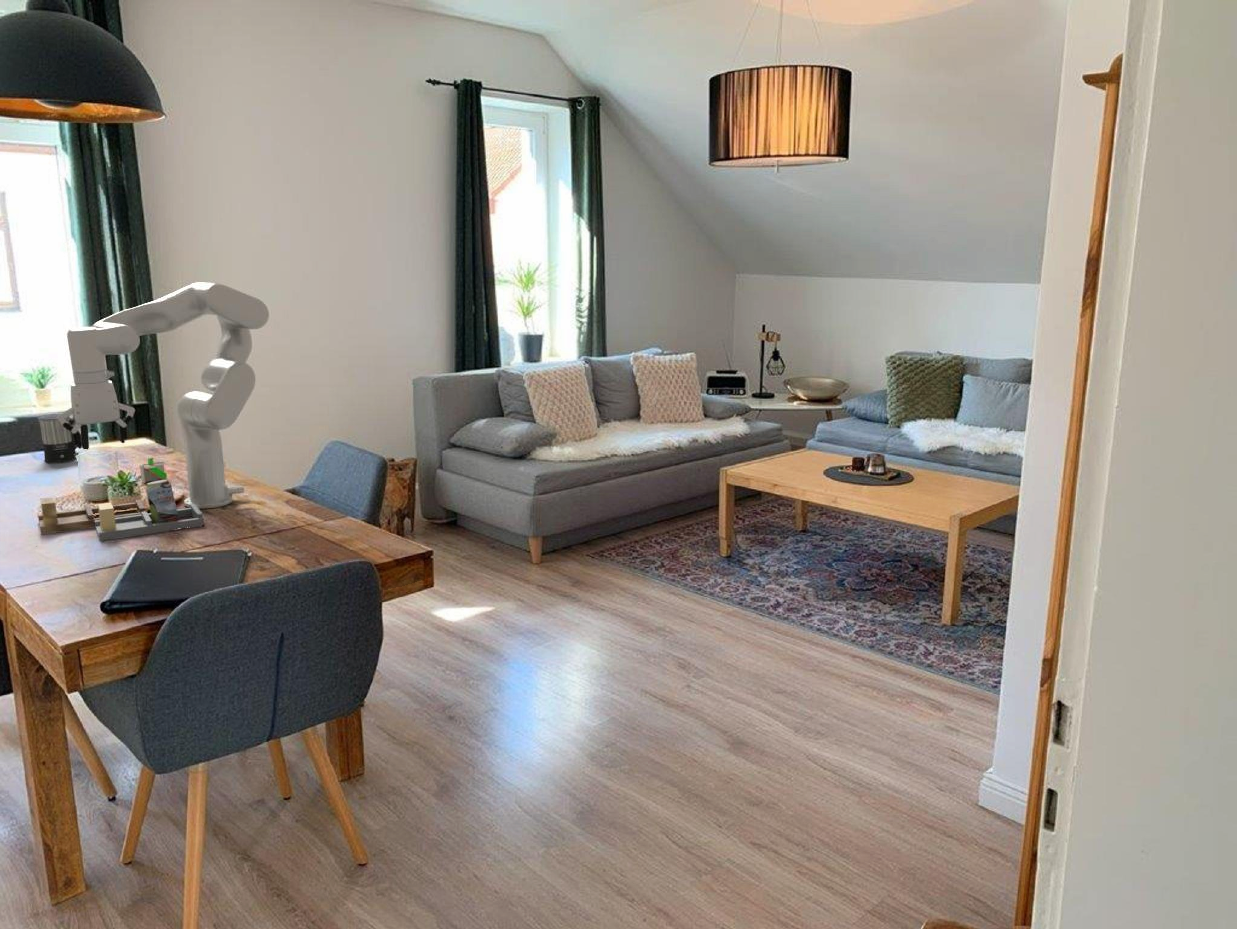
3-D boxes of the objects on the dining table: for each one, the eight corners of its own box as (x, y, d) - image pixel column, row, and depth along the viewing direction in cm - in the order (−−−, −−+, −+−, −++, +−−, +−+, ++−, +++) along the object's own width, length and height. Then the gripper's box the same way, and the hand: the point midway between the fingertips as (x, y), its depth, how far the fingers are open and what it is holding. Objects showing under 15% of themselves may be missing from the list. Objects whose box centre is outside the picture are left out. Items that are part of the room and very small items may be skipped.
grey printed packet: (169, 530, 243) (164, 484, 240) (144, 527, 244) (138, 482, 241) (184, 522, 249) (180, 478, 246) (160, 520, 250) (155, 476, 247)
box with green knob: (170, 482, 290) (167, 456, 288) (146, 486, 285) (144, 460, 283) (164, 479, 293) (162, 454, 291) (141, 483, 288) (139, 457, 286)
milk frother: (52, 464, 307) (46, 420, 304) (28, 458, 316) (22, 414, 312) (96, 456, 319) (91, 413, 315) (71, 450, 327) (66, 408, 324)
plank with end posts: (140, 508, 260) (137, 484, 259) (146, 520, 250) (143, 494, 249) (38, 522, 248) (35, 496, 246) (41, 534, 238) (37, 507, 236)
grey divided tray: (195, 514, 256) (193, 489, 254) (204, 525, 246) (201, 499, 245) (95, 528, 243) (92, 501, 242) (100, 540, 234) (96, 513, 232)
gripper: (127, 372, 242) (136, 437, 247) (49, 379, 233) (60, 446, 237) (132, 376, 236) (141, 443, 241) (52, 383, 227) (63, 452, 231)
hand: (101, 444), depth 239 cm, fingers open, 9 cm apart
